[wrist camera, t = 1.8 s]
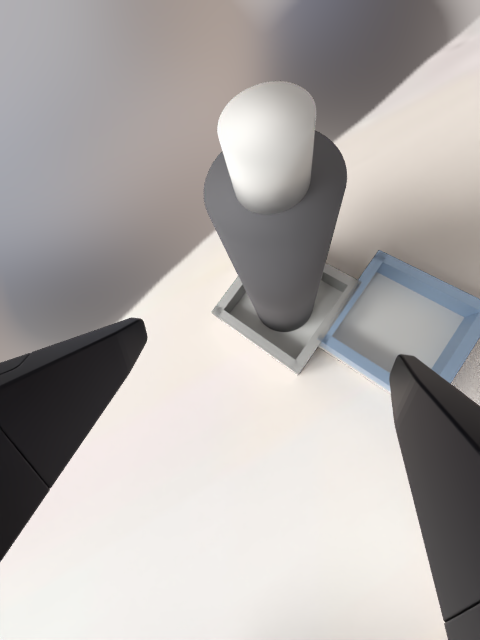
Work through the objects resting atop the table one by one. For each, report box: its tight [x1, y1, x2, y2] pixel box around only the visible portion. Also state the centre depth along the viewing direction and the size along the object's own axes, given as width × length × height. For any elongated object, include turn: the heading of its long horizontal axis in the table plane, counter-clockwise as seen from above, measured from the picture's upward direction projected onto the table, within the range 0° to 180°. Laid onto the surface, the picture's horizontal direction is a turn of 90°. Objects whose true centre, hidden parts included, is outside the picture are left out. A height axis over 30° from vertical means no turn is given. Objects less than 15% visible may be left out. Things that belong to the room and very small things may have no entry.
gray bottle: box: [204, 81, 347, 332], centre depth 13 cm, size 4×4×15 cm
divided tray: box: [212, 250, 480, 394], centre depth 19 cm, size 11×16×2 cm
